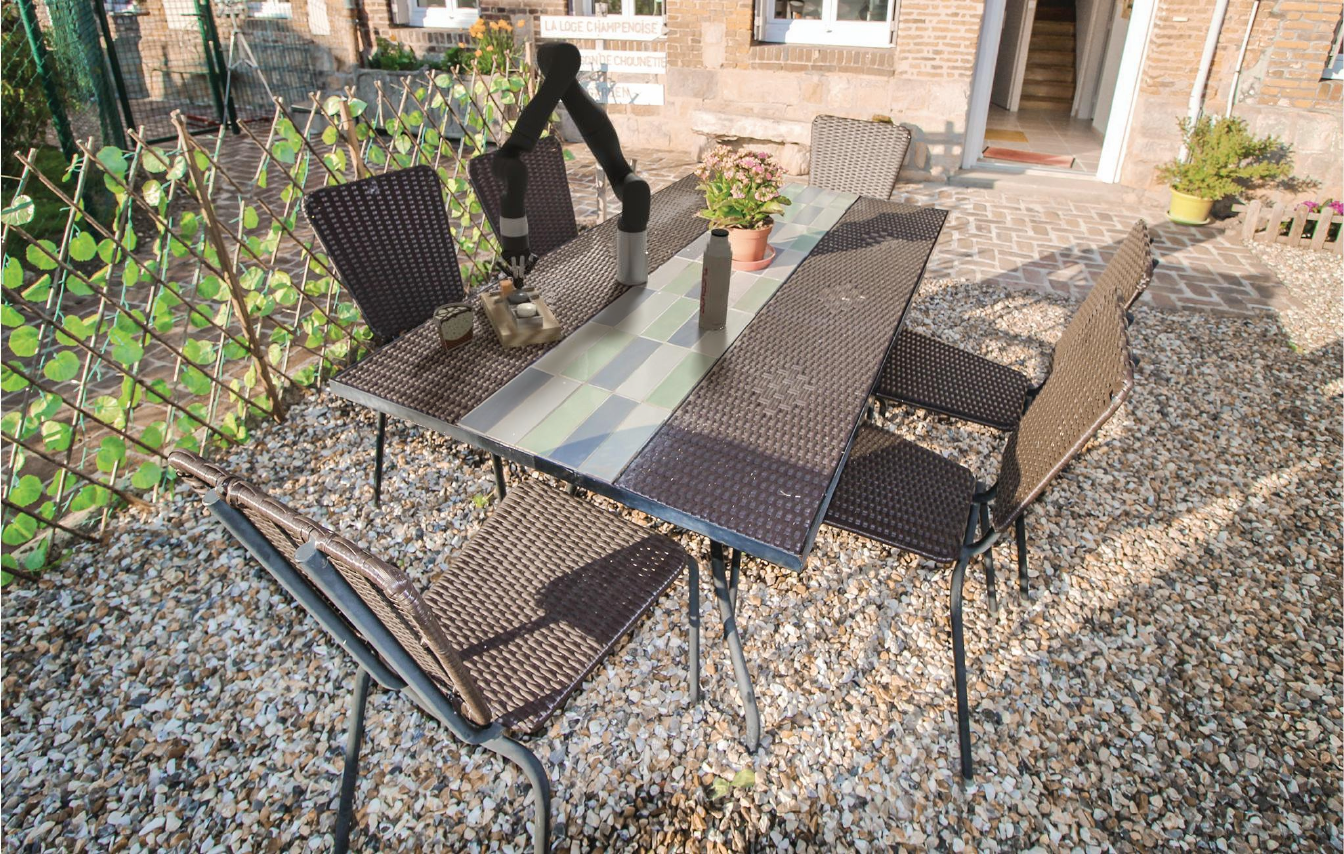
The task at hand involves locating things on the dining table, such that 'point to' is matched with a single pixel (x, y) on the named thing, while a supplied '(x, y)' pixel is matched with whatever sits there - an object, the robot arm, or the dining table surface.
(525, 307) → the cream button
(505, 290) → the slider knob
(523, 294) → the charcoal button
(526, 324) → the board
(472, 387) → the dining table surface
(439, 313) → the food container
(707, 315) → the thermos bottle
